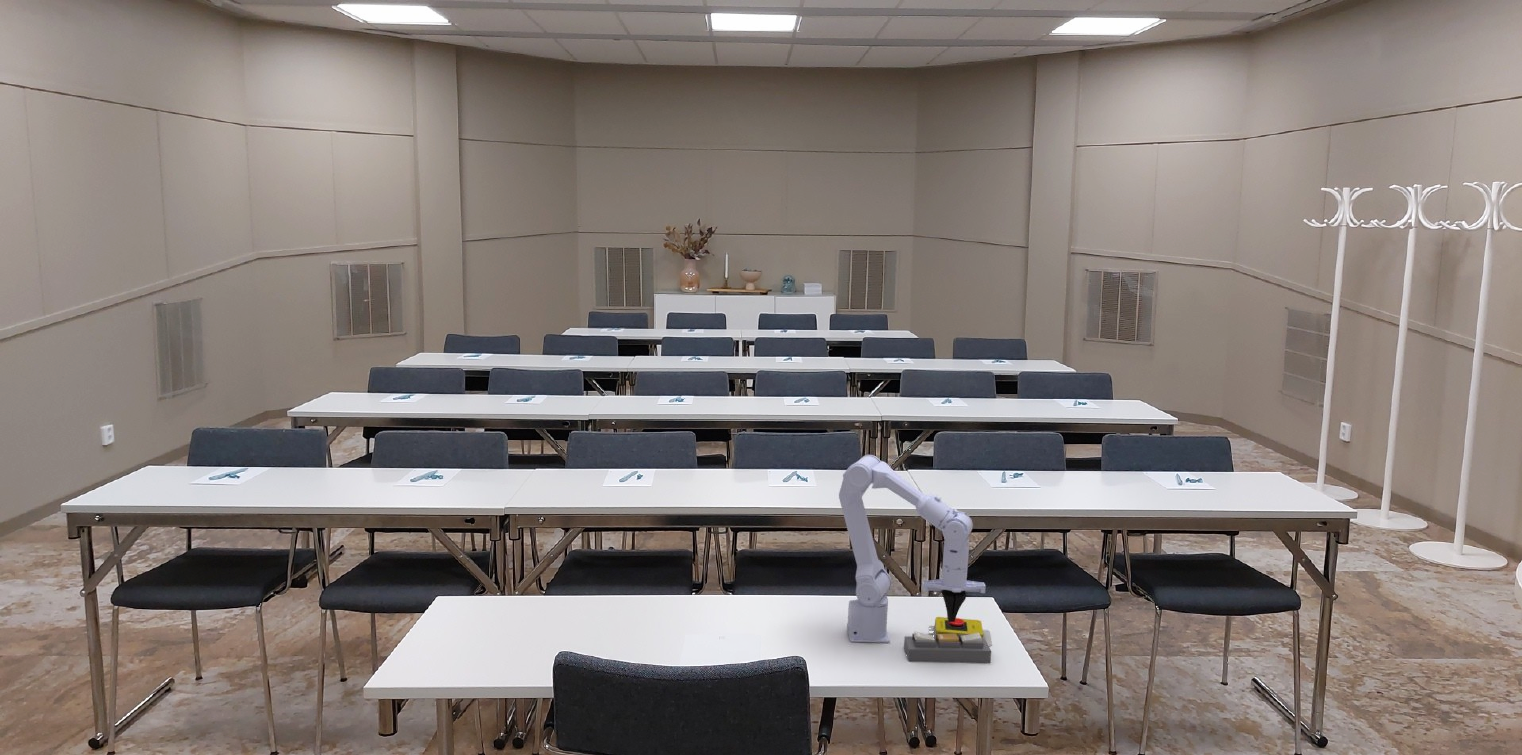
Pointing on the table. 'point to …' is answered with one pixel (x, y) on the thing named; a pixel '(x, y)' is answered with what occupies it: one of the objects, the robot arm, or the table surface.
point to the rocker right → (971, 638)
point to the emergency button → (960, 628)
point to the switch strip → (946, 651)
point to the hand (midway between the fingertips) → (951, 620)
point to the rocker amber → (947, 637)
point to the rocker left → (923, 637)
